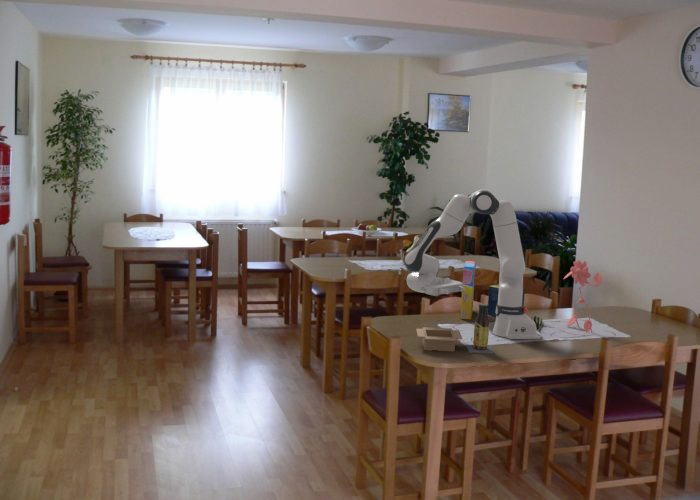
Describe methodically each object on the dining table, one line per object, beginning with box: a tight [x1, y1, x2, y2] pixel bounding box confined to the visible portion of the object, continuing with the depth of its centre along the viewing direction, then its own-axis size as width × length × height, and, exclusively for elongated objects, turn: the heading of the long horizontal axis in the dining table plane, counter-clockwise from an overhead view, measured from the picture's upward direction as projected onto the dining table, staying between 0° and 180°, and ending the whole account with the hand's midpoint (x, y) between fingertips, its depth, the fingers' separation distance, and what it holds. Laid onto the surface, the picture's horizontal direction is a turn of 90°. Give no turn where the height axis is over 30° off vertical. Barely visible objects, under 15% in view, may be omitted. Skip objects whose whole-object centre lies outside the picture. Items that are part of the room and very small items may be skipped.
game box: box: [459, 260, 477, 320], centre depth 385 cm, size 21×6×27 cm, turn 168°
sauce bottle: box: [472, 302, 490, 350], centre depth 323 cm, size 6×6×20 cm
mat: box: [465, 343, 496, 355], centre depth 324 cm, size 11×11×1 cm
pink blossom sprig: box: [558, 259, 603, 337], centre depth 361 cm, size 15×26×35 cm, turn 26°
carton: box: [415, 326, 463, 352], centre depth 326 cm, size 19×19×6 cm
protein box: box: [487, 283, 526, 318], centre depth 387 cm, size 10×15×16 cm
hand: (456, 291), depth 334 cm, fingers open, 8 cm apart
